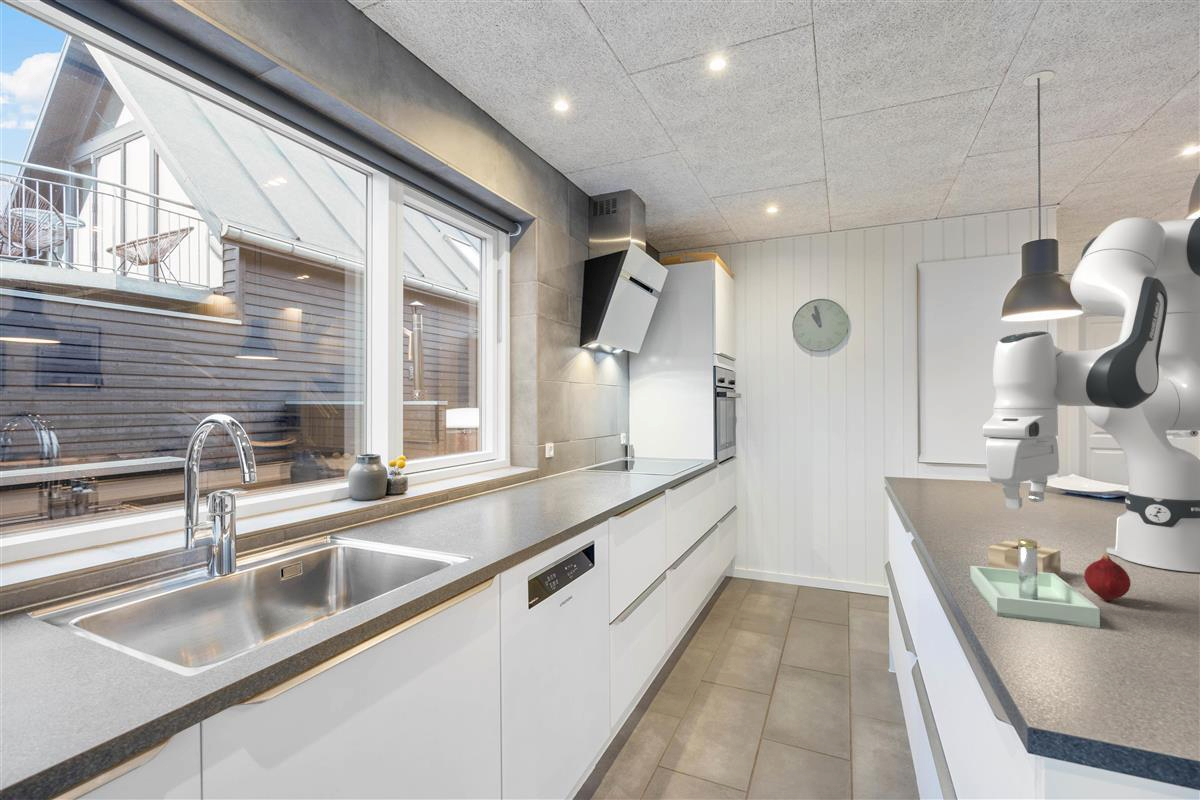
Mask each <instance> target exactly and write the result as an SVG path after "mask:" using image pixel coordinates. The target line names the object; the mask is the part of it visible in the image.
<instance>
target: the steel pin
mask: <svg viewBox="0 0 1200 800" xmlns="http://www.w3.org/2000/svg"><path fill="white" fill-rule="evenodd" d="M1017 542H1018V571H1019V598H1021V599H1030V600H1038V563H1037V546H1038V541H1036V540H1033V539H1027V538H1026V539H1025V538H1019V539H1018V540H1017Z"/></svg>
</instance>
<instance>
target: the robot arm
mask: <svg viewBox="0 0 1200 800" xmlns="http://www.w3.org/2000/svg"><path fill="white" fill-rule="evenodd" d="M1069 288H1070V292H1071V295H1072V297H1073V299H1074V300H1075V301H1076V302H1077V304H1079V305H1080V306H1082V307H1083V308H1084V309H1086V310H1088V311H1090V312H1093V313H1094V314H1095V313H1096V314H1099V315H1103V316H1110V317H1119V318H1120V317H1121V318H1123V320H1122V324H1121V325H1122V326H1121V328H1120V329H1121V330H1120V331H1119V337H1118V341H1117V342H1115V343H1113V344H1111V345H1109V346H1106V347H1101V348H1097V349H1085V350H1083V349H1082V350H1071V351H1069V350H1067V351H1064V349H1061V348H1060V347H1057V346H1055V344H1054V339H1053V337H1052V333H1050V332H1047V331H1040V330H1039V331H1029V332H1022V333H1016V334H1015V333H1014V334H1011V335H1006V336H1005V337H1002V338H1000V339H999V340H998V341H997V343H996V345H995V348H994V349H995V350H994V353H993V362H992V386H993V389H994V392H995V397H994V402H993V405H992V406H993V407H992V415H991V417H990V418H989V419H988V420H987V421H986V422H985V423H984V424H983V425H982V436H983V437H985V438H987V439H986V441H985V461H986V464H985V465H986V472H987V473H986V474H987V476H988V478H989V481H991V482H992V483H999V484H1001V488H1002V491H1003V494H1004V496H1005V502H1006V503H1005V505H1006V507H1007V508H1008V509H1014V510H1017V509H1020V508H1022V507H1023V498H1022V497H1021V495H1020V489H1021V483H1022V482H1027V481H1030V483H1031V484H1030V490H1029V491H1028V495H1029V496H1028V500H1029V501H1030V502H1033V503H1041V502H1044V501H1045V491H1046V488H1047V485H1048V477H1050V476H1055V475H1057V474H1058V473H1059V469H1060V457H1059V455H1060V454H1059V445H1058V440H1057V437H1058V436H1059V430H1058V429H1059V425H1058V424H1059V415H1058V414H1059V413H1058V412H1059V411H1058V410H1059V409H1058V406H1065V407H1067V406H1068V407H1083V408H1084V412H1085V414H1086V417H1087V418H1088V419H1089V420H1090V422H1092V424H1094V425H1095V426H1097V427H1098V428H1101V429H1102V430H1104V431H1105V432H1106V433H1107V434H1109V435H1110V436H1111V437H1112V438H1113V440H1115V442H1117V444H1118V445H1119V447H1120V449H1121V451H1122V452H1123V455H1124V458H1125V462H1126V468H1127V469H1126V470H1127V471H1126V472H1127V479H1128V480H1127V481H1128V483H1127V484H1128V492H1126V493H1125V500H1124V501H1125V509H1126V512H1125V513H1123V514H1121V515H1120V516H1118V517H1117V519H1116V528H1115V529H1116V535H1115V545H1114V546H1109V547H1106V551H1105V552H1106V553H1107V554H1110V555H1113V556H1117V557H1118V558H1121V559H1123V560H1125V561H1127V562H1128V561H1129V562H1132V563H1136V564H1139V565H1143V566H1148V567H1153V568H1157V569H1165V570H1171V571H1180V572H1189V573H1200V459H1199V458H1198V457H1197V456H1196V455H1194V454H1193V453H1192V452H1190V451H1187V450H1185V449H1183V448H1179V447H1177V446H1175V445H1173V444H1172V442H1170V440H1169V438H1168V435H1167V432H1168V431H1186V432H1187V431H1188V432H1189V431H1192V432H1193V431H1194V432H1197V431H1200V216H1198V217H1197V218H1185V219H1183V218H1182V219H1174V220H1173V219H1172V220H1166V221H1156V220H1154V219H1150V218H1146V217H1139V216H1135V217H1126V218H1122V219H1119V220H1117V221H1114V222H1112V223H1111V224H1109V225H1108V226H1106V228H1105V229H1103V230H1102V232H1101V233H1100V234H1099V235H1097V236H1094V237H1093V238H1092V239H1091V240H1090V241H1088V243H1087V244H1086V245H1085V246H1084V247H1083V249H1082V253H1081V257H1080V261H1079V263H1078V264H1077V267H1076V268H1075V270H1074V272H1073V274H1072V276H1071V280H1070V287H1069ZM1159 368H1160V369H1161V371H1162V374H1163V376H1162V377H1163V378H1160V376H1159V375H1160V374H1159V373H1160V372H1159V370H1160V369H1159Z"/></svg>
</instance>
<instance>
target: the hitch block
mask: <svg viewBox="0 0 1200 800" xmlns="http://www.w3.org/2000/svg"><path fill="white" fill-rule="evenodd" d="M987 562H988V563H987V564H988V565H987V567H991V568H1001V569H1012V570H1018V541H1011V540H1005V541H1002V542H999V543H995V544H993V545H989V546H988V547H987ZM1037 563H1038V572H1045V573H1055V574H1056V575H1057V576H1058V577H1060V576H1062V575H1061V569H1062V568H1061V566H1062V565H1061V563H1062V562H1061V549H1058V548H1057V549H1055V548H1052V547H1051V548H1050V547H1046V546H1039V545H1037Z"/></svg>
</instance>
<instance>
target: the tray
mask: <svg viewBox="0 0 1200 800" xmlns="http://www.w3.org/2000/svg"><path fill="white" fill-rule="evenodd" d="M970 582H971V584H972V585H973V586H974V588H975V589H976V590H977V591H978V593H979V594H980V596H981V597H982V599H984V600H985V602H986V603H987V604H988V605H989V607H990V608H991V609H992V611H993V612H994V614H995V615H996V616H997V617H1007V618H1012V619H1013V618H1014V619H1021V620H1031V621H1037V622H1046V623H1054V624H1061V625H1068V626H1069V625H1071V626H1079V627H1086V628H1096V629H1100V628H1101V626H1100V625H1101V623H1100V622H1101V619H1100V618H1101V617H1100V615H1101V614H1100V612H1101V611H1100V608H1099V607H1098V606H1097V605H1096V604H1094V603H1093V602H1092V601H1090V600H1089V599H1088V598H1087V597H1085V596H1084V595H1083V594H1082V593H1080V592H1079V591H1078V590H1076V589H1075V588H1074V587H1072V586H1071V584H1069V583H1067V582H1066V581H1065V580H1063V579H1062V578H1061V577H1060V576H1057V575H1056V574H1055V573H1045V572H1038V600H1030V599H1021V598H1019V571H1018V570H1012V569H1001V568H991V567H988V566H979V565H978V566H977V565H970Z"/></svg>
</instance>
